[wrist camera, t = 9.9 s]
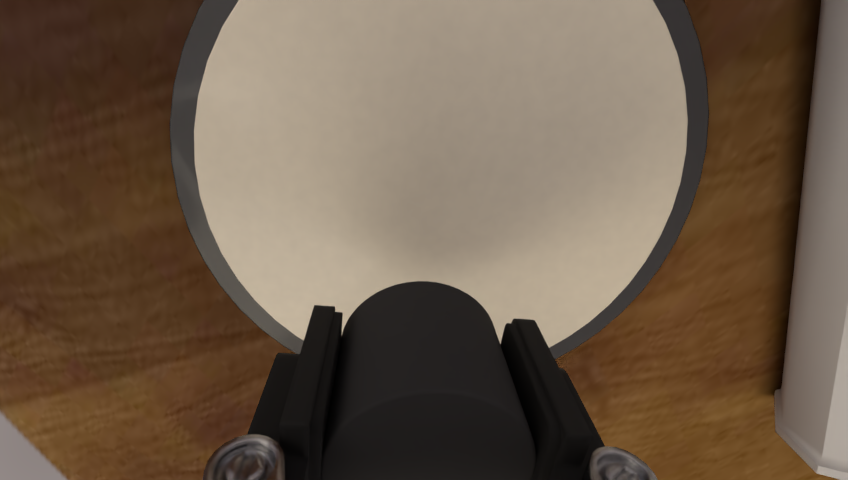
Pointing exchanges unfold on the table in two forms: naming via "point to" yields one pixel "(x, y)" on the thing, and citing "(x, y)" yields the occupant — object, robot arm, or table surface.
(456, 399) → the eye dot
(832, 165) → the tube
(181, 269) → the table surface
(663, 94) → the face circle
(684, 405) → the table surface
